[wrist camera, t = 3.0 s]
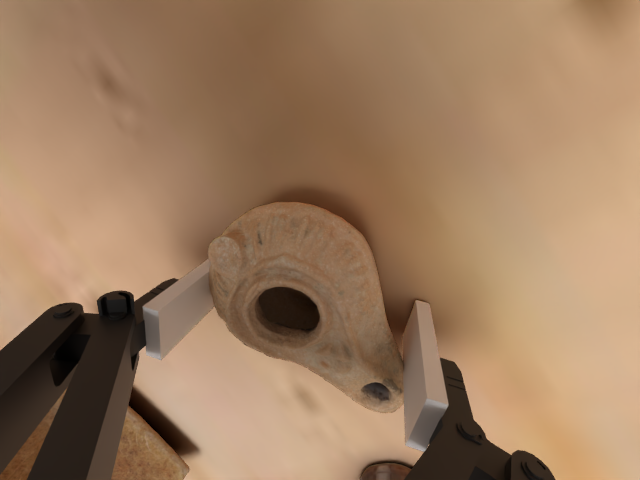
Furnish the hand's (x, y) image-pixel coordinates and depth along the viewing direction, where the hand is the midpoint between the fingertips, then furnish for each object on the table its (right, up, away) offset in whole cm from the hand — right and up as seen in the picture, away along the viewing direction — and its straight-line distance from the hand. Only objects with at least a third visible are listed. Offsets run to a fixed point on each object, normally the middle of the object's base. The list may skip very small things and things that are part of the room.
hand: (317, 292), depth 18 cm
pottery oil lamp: (0, 0, 0) cm, 1 cm away
